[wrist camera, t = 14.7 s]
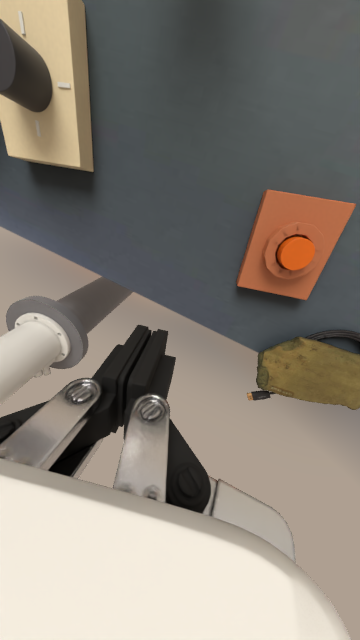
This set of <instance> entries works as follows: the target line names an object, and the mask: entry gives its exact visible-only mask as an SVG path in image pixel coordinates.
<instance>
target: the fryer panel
mask: <svg viewBox="0 0 360 640" xmlns="http://www.w3.org/2000/svg"><path fill="white" fill-rule="evenodd" d="M0 19H1V20H3V21H4V22H5V23H6V24H7V25H8V26H9V27H10V28H11V29H13V30H14V31H15V32H16V33H17V34H18V35H19V36H20V37H22V38H23V39H24V40H25V41H26V42H27V43H28V44H29V45H30V46H32V47H33V48H34V49H35V50H36V51H37V52H38V53H39V54H40V55H41V57H42V58H43V60H44V61H45V63H46V65H47V67H48V70H49V73H50V76H51V81H52V97H51V101H50V104H49V106H48V107H47V108H46V109H45V110H44V111H42V112H32V111H30V110H28V109H26V108H25V107H23V106H21V105H19V104H17V103H16V102H14V101H12V100H10V99H8V98H6V97H5V96H3V95H1V94H0V120H1V124H2V129H3V133H4V138H5V143H6V147H7V152H8V155H9V156H11V157H15V158H19V159H22V160H26V161H30V162H36V163H42V164H48V165H54V166H60V167H66V168H72V169H78V170H84V171H90V172H94V170H93V152H92V133H91V115H90V96H89V78H88V59H87V40H86V22H85V6H84V4H83V2H82V0H0Z"/></svg>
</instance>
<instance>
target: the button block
mask: <svg viewBox="0 0 360 640" xmlns="http://www.w3.org/2000/svg"><path fill="white" fill-rule="evenodd" d="M355 206H356V204H353V203H347V202H340V201H334V200H328V199H322V198H316V197H310V196H304V195H298V194H292V193H286V192H280V191H273V190H266V191H264V193H263V196H262V199H261V203H260V206H259V209H258V212H257V216H256V219H255V222H254V225H253V229H252V232H251V235H250V238H249V242H248V245H247V248H246V251H245V255H244V258H243V261H242V264H241V268H240V271H239V274H238V277H237V281H236V282H237V286H240V287H245V288H250V289H255V290H259V291H264V292H269V293H274V294H279V295H284V296H289V297H294V298H299V299H304V300H307V298H308V296H309V294H310V293H311V291H312V289H313V287H314V285H315V283H316V281H317V279H318V277H319V275H320V273H321V271H322V269H323V268H324V266H325V264H326V262H327V260H328V258H329V256H330V254H331V252H332V250H333V248H334V246H335V244H336V243H337V241H338V239H339V237H340V235H341V233H342V231H343V229H344V227H345V225H346V223H347V221H348V219H349V217H350V216H351V214H352V212H353V210H354V208H355ZM291 237H302V238H305V239H308V240H310V241H311V242H312V243H313V245H314V247H315V254H314V257H313V259H312V261H311V262H310V263H309V264H308V265H307V266H305V267H304V268H302V269H299V270H289V269H287V268H285V267H284V266H283V265H281V264H280V263H279V261H278V259H277V251H278V249H279V247H280V245H281V244H282V243H283V242H284V241H285V240H287V239H289V238H291Z"/></svg>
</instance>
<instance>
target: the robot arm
mask: <svg viewBox="0 0 360 640" xmlns="http://www.w3.org/2000/svg"><path fill="white" fill-rule="evenodd" d="M167 336H168V331H165V330H160V329H158V331H153V333H152V335H151V330H148V327H146V326H142V325H138V326H137V327H136V328H135V330H134V331H133V333H132V334H131V335H130V337H129V338H128V340H127V341H126V343H125V344H124V345H117V346H116V347H115V348H114V349H113V351H112V352H111V353H110V355H109V356H108V357H107V359H106V360H105V361H104V363H103V364H102V365H101V367H100V368H99V369H98V370H97V372H96V373H95V375H94V376H93V377H92V378H81V379H77V380H74V381H72V382H70V383H69V384H68V385H66V386H65V387H64V388H63V389H62V390H61V391H60V392H58V393H57V394H56V395H55V396H54V397H53V398H52V399H51V400H49V401H47V402H44V403H41V404H38V405H35V406H32V407H30V408H26V409H24V410H21V411H18V412H15V413H12V414H9V415H7V416H4V417H1V418H0V640H351V638H350V636H349V634H348V631H347V629H346V628H345V625H344V623H343V622H342V620H341V618H340V616H339V615H338V613H337V611H336V609H335V608H334V606H333V605H332V603H331V602H330V600H329V599H328V597H327V596H326V595H325V594H324V593H323V591H322V590H321V589H320V587H319V586H318V585H317V584H316V583H315V582H314V581H313V580H312V579H311V578H310V577H309V576H308V575H307V574H306V573H305V571H304V570H303V569H302V568H301V567H299V566H298V565H297V564H296V562H295V549H294V542H293V537H292V533H291V531H290V529H289V527H288V525H287V522H286V521H285V520H284V519H283V517H282V516H281V515H280V513H278V512H277V511H276V510H274V509H273V508H272V507H270V506H268V505H266V504H264V503H263V502H261V501H259V500H257V499H255V498H254V497H252V496H250V495H248V494H246V493H244V492H243V491H241V490H239V489H237V488H235V487H233V486H232V485H230V484H228V483H226V482H224V481H223V480H221V479H219V480H218V481H217V480H215V479H214V478H212V477H210V476H208V475H207V472H206V471H205V469H204V467H203V466H202V465H201V463H200V462H199V460H198V459H197V457H196V456H195V454H194V453H193V451H192V450H191V449H190V448H189V446H188V444H187V443H186V441H185V440H184V438H183V437H182V435H181V434H180V432H179V431H178V430H177V428H176V427H175V425H174V424H173V422H172V421H171V419H170V418H169V417H170V409H169V408H170V407H169V404H168V402H167V400H166V399H167V395H168V391H169V387H170V383H171V379H172V374H173V370H174V365H175V360H176V358H175V357H171V356H167V355H165V349H166V342H167ZM70 350H71V345H70V340H69V338H68V336H67V334H66V332H65V331H64V330H63V328H62V327H61V326H60V325H59V324H58V323H57V322H55V321H54V320H53V319H51V318H49V317H47V316H45V315H43V314H39V313H33V312H32V313H26V314H24V315H22V316H20V317H19V318H18V319H17V320H16V322H15V329H13V330H11V331H9V332H8V333H6V334H4V335H2V336H0V405H1V404H3V403H4V402H5V401H6V400H7V399H8V398H9V397H10V396H11V395H13V394H14V393H15V392H16V391H17V390H18V389H20V388H21V387H22V386H23V385H24V384H25V383H27V382H28V381H29V380H30V379H31V378H32V377H33V376H34V377H40V376H42V375H43V373H44V375H49V374H50V373H51V372H50V368H49V366H50V365H51V364H52V363H53V362H59V361H62V360H64V359H65V358H66V357H67V356H68V354H69V353H70ZM123 425H124V444H123V448H122V452H121V457H120V460H119V465H118V469H117V473H116V477H115V481H114V485H113V488H109V487H106V486H102V485H98V484H94V483H91V482H87V481H83V480H80V479H78V478H79V476H80V475H81V473H82V471H83V470H84V469H85V467H86V466H87V464H88V463H89V461H90V459H91V458H92V457H93V455H94V454H95V452H96V451H97V449H98V448H99V446H100V444H101V442H102V440H103V438H104V437H106V436H108V435H110V433H111V432H113V433H116V431H117V429H118V427H119V426H121V427H122V426H123Z"/></svg>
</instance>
